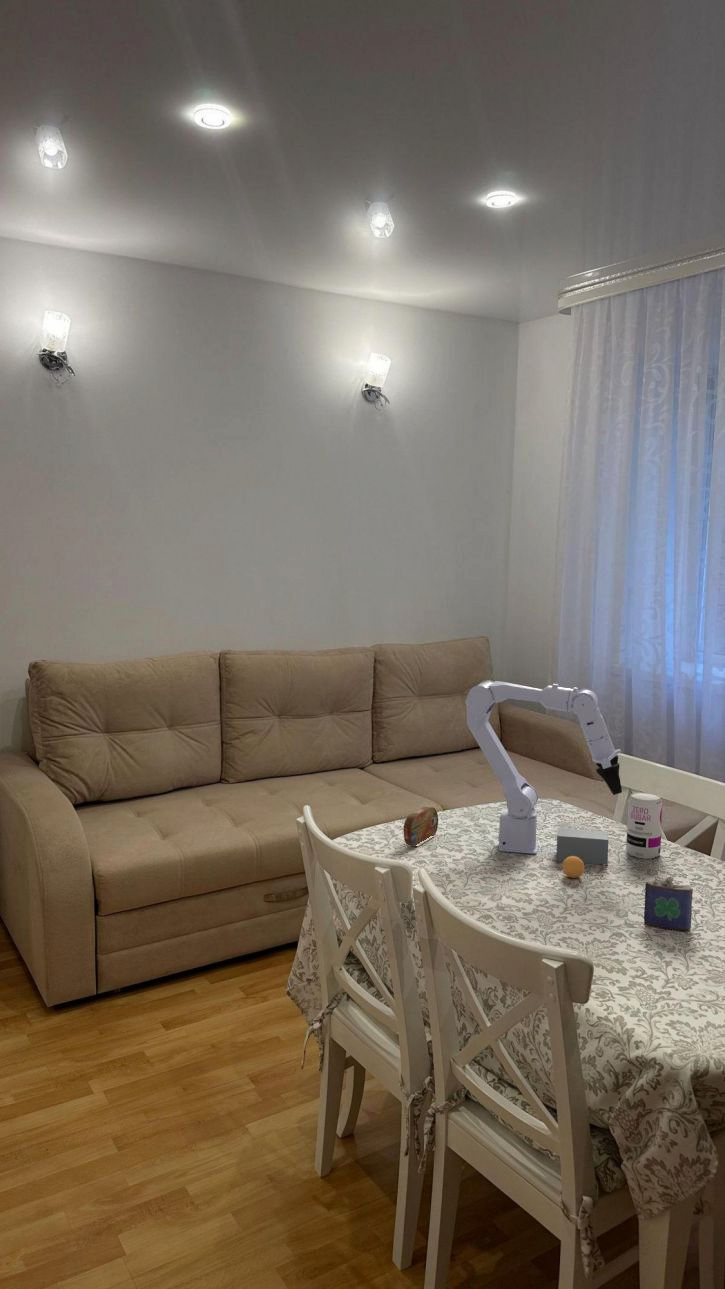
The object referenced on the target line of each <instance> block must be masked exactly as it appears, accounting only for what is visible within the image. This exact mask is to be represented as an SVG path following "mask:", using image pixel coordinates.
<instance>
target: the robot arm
mask: <svg viewBox="0 0 725 1289" xmlns="http://www.w3.org/2000/svg"><path fill="white" fill-rule="evenodd" d="M508 699H510V700H519V701H528V702H536V703H540V704H541V705H542V706H543V707H544V709H549V710H555V711H561V712H562V711H563V712H568V713H570V712H573V714H575V715H576V716H577V718H578V720H579V725H580V727H581V730H582V734H583V736H584V738H585V741H586V744H587V746H588V749H589V753H590V756H591V757H592V758H591V760H592V762H594V763H595V764H596V766H597V767H598V768H596V769H595V771H596V773H597V774H598V775H599V776H600V777H601V778H602V779H603V781H604V782H605V784H606V785H607V787H608V788H609V790H610V792H611V794H612V795H613V796H615V795H618V794H622V793H623V792H622V791H623V788H622V785H621V777H620V762H618V761H619V755H618V754H621V753H622V752H621V751H622V750H621V749H620V748H618V749H615V746H614V744H613V743H614V742H613V740H612V737H611V735H610V733H609V730H608V728H607V724H606V721H605V720H604V717H603V715H602V713H601V710H600V708H599V706H598V704H599V700H598V696H597V694H596V693H595V692H594V691H592V690H590V689H588V688H582V689H579V688H578V687H573V688H567V687H561V686H559V684H558V683H553V684H552V685H547V686H545V687H544V688H536V687H530V686H527V685H521V684H516V683H510V682H505V681H501V680H500V681H499V680H497V681H496V680H495V681H492V680H482V681H481V682H480V683H479V684H478V685H475V686H473V687H472V688H471V689H470V690H469V692H468V694H467V697H466V700H465V701H464V702H465V705H466V725H467V727H468V729H469V730H470V732H471V734H472V736H473V738H474V739H475V742H476V743H477V744H478V746H479V748H480V750H481V751H482V753H483V755H484V756H485V758H486V760H487V761H488V764H489V765H490V767H491V768H492V771H493V772H494V774H495V776H496V777H497V779H498V780H499V782H500V784H501V786H502V788H501V789H502V794H503V796H504V798H505V801H506V808H507V812H501V813H500V816H499V831H498V833H499V834H498V840H497V841H498V851H499V852H508V853H518V854H533V855H536V854H537V853H538V846H539V842H538V841H537V823H538V821H537V820H538V816H537V815H538V812H537V811H536V808H535V806H536V805H537V803H538V801H539V794H538V791H537V789H536V788H535V787H533V786H532V785H531V784H530V783H529V782H528V781H527V779H526V778H525V777H524V776H523V775H521V774H520V772H518V770H517V768H516V766H515V764H514V763H513V761H512V759H511V757H510V756H509V754H508V753H507V751H506V749H505V748H504V747H505V746H503V744H502V742H501V741H500V739H499V737H498V735H497V733H496V732H495V731H494V729H493V727H492V725H491V723H490V722H489V719H490V717H491V714H492V710H493V708H494V707H495V705H496V704H497V703H501V702H504V701H505V700H508Z"/></svg>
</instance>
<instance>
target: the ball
mask: <svg viewBox="0 0 725 1289" xmlns="http://www.w3.org/2000/svg"><path fill="white" fill-rule="evenodd" d="M562 871H563V873H564V874H565V875H566V876H567V877H569V878H572V879H576V878H579V877H581V876H582V875H583V874H584V871H585V863H583V861H582V860H581V859H580V858H578V857H576V856H570V857H567V858H566V859H565V860H564V862H563V861H562Z"/></svg>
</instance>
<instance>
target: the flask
mask: <svg viewBox="0 0 725 1289" xmlns="http://www.w3.org/2000/svg"><path fill="white" fill-rule="evenodd" d="M665 879H666V880H664V881H660V880H658V881H657V879H654V880H648V881H646V882H645V888H644V889H645V891H644V912H643V922H644V925H645V926H646V927H651V928H656V929H660V930H668V931H673V932H674V931H675V932H676V931H677V932H681V933H682V932H687V933H688V932H690V931H691V929H692V916H693V914H692V912H693V911H692V910H693V909H692V908H693V891H694V890H693V888H692V887H691V886H689V885H681V884H680V885H679V884H674V883H673V881H674V879H675V878H674V877H673V876H668V877H667V876H666V878H665Z"/></svg>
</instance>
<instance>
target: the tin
mask: <svg viewBox="0 0 725 1289" xmlns="http://www.w3.org/2000/svg"><path fill="white" fill-rule="evenodd" d="M438 827H439V814H438V812H437V809H436V807H435V808H434V807H431V806H430V807H428V806H423V807H421V808H419V809H418V810H416V811H414V812H413V813H411V814H409V815H408V816H406V818H405V820H404V823H403V838H404V840H403V841H404V842H405V844H406V845H407V846H409V845H411V846H410V847H415V846H416V845H417V844H419V843H420V842H422V841H424V840H426V839H427V838H429V837H430V836H434V835H435V836H436V833H437V831H438ZM435 836H434V837H435Z"/></svg>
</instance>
